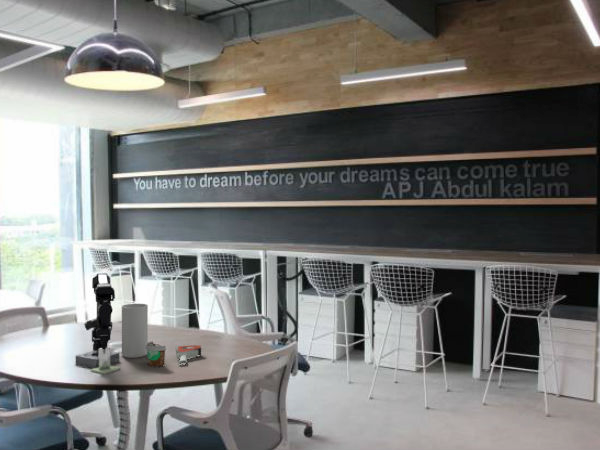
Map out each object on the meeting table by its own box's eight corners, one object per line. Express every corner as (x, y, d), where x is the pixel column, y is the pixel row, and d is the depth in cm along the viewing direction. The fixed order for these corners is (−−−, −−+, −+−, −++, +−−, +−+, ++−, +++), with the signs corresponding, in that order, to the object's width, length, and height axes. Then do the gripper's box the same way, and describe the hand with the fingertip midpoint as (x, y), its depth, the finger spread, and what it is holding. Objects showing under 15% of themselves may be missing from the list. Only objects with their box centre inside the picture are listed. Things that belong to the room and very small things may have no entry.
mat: (106, 366, 263) (106, 364, 263) (119, 369, 258) (119, 367, 258) (90, 371, 255) (90, 369, 255) (104, 374, 250) (104, 372, 250)
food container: (140, 363, 267) (140, 343, 267) (152, 361, 272) (152, 341, 271) (154, 369, 259) (154, 347, 258) (165, 366, 263) (165, 345, 263)
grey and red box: (181, 370, 264) (212, 358, 280) (181, 359, 263) (212, 348, 279) (157, 362, 274) (188, 351, 290) (157, 351, 274) (188, 341, 290)
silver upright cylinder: (104, 366, 260) (104, 346, 260) (112, 367, 258) (112, 348, 257) (96, 368, 256) (96, 349, 256) (104, 370, 253) (103, 350, 253)
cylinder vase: (117, 354, 284) (117, 305, 283) (141, 350, 292) (141, 302, 291) (127, 359, 274) (127, 308, 274) (151, 355, 282) (151, 306, 282)
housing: (99, 357, 279) (99, 349, 278) (119, 361, 272) (119, 352, 272) (75, 363, 266) (75, 355, 266) (96, 368, 260) (96, 359, 259)
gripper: (87, 310, 263) (87, 343, 263) (83, 317, 245) (83, 353, 245) (112, 309, 266) (112, 341, 266) (110, 316, 248) (110, 351, 248)
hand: (104, 346), depth 256 cm, fingers open, 9 cm apart
